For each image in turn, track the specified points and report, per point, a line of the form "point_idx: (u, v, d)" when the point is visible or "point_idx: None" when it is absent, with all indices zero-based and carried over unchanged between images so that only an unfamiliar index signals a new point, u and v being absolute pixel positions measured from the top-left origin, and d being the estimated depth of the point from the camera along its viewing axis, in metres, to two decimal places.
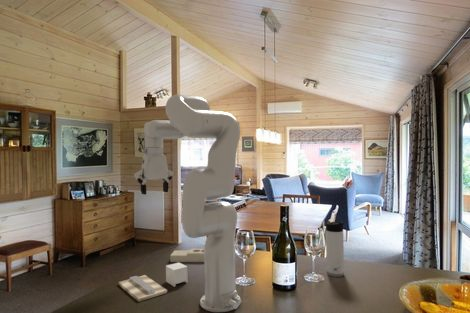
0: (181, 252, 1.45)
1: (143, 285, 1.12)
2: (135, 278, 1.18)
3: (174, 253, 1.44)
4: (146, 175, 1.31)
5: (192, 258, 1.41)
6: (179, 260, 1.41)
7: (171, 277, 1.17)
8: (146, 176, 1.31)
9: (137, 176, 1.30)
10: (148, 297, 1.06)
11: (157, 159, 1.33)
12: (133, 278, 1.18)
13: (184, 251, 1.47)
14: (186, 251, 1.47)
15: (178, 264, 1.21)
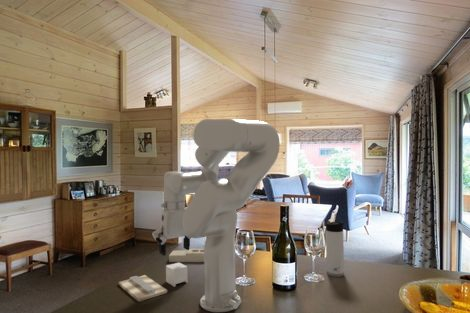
0: (179, 252, 1.45)
1: (143, 285, 1.12)
2: (135, 278, 1.18)
3: (173, 253, 1.44)
4: (166, 234, 1.14)
5: (191, 258, 1.41)
6: (178, 260, 1.41)
7: (171, 277, 1.17)
8: (166, 235, 1.14)
9: (156, 235, 1.14)
10: (148, 297, 1.06)
11: (178, 215, 1.17)
12: (133, 278, 1.18)
13: (183, 251, 1.47)
14: (185, 251, 1.47)
15: (178, 264, 1.21)
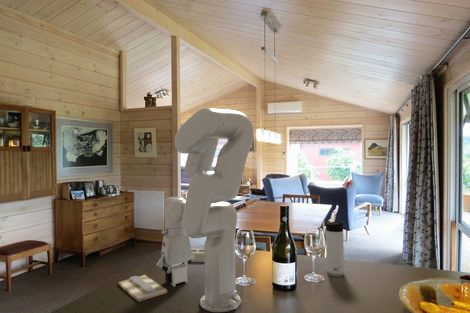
0: None
1: (143, 285, 1.12)
2: (135, 278, 1.18)
3: None
4: (167, 261, 1.14)
5: None
6: None
7: None
8: (167, 262, 1.14)
9: (161, 265, 1.15)
10: (148, 297, 1.06)
11: (179, 241, 1.17)
12: (133, 278, 1.18)
13: None
14: None
15: (178, 264, 1.21)
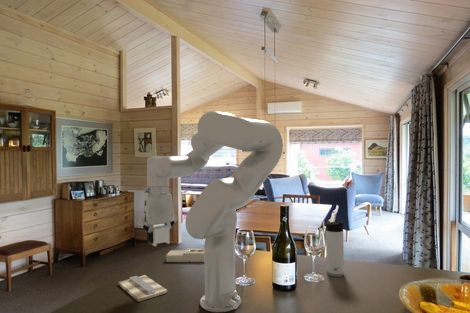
0: (177, 252, 1.45)
1: (143, 285, 1.12)
2: (135, 278, 1.18)
3: (170, 253, 1.44)
4: (148, 220, 1.12)
5: (188, 258, 1.41)
6: (175, 260, 1.41)
7: None
8: (148, 221, 1.12)
9: (142, 224, 1.12)
10: (148, 297, 1.06)
11: (161, 200, 1.14)
12: (133, 278, 1.18)
13: (180, 251, 1.48)
14: (182, 251, 1.47)
15: (161, 225, 1.18)
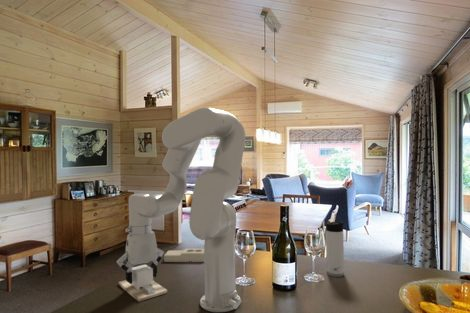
0: (175, 252, 1.45)
1: None
2: None
3: (168, 253, 1.44)
4: (130, 260, 1.09)
5: (186, 258, 1.41)
6: (173, 260, 1.41)
7: (135, 280, 1.12)
8: (130, 262, 1.09)
9: (121, 263, 1.09)
10: (148, 297, 1.06)
11: (144, 239, 1.11)
12: None
13: (178, 251, 1.48)
14: (180, 251, 1.47)
15: (144, 266, 1.16)
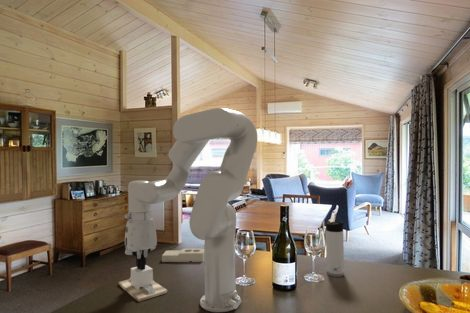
0: (172, 252, 1.45)
1: None
2: None
3: (166, 253, 1.44)
4: (130, 247, 1.09)
5: (184, 258, 1.41)
6: (171, 260, 1.42)
7: (135, 280, 1.12)
8: (130, 248, 1.09)
9: (130, 252, 1.11)
10: (148, 297, 1.06)
11: (143, 226, 1.11)
12: None
13: (176, 251, 1.48)
14: (178, 251, 1.47)
15: None
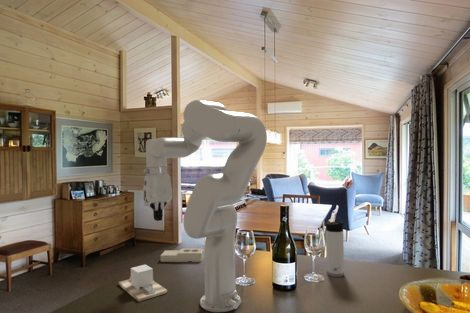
0: (171, 252, 1.45)
1: None
2: None
3: (164, 253, 1.45)
4: (149, 198, 1.18)
5: (183, 258, 1.41)
6: (169, 260, 1.42)
7: (135, 280, 1.12)
8: (149, 199, 1.18)
9: (148, 204, 1.20)
10: (148, 297, 1.06)
11: (160, 180, 1.21)
12: None
13: (175, 251, 1.48)
14: (176, 251, 1.47)
15: (144, 266, 1.16)
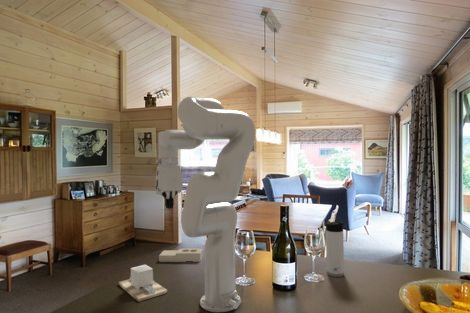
0: (170, 252, 1.46)
1: None
2: None
3: (163, 253, 1.45)
4: (161, 187, 1.26)
5: (181, 258, 1.41)
6: (168, 260, 1.42)
7: (135, 280, 1.12)
8: (161, 188, 1.26)
9: (160, 193, 1.27)
10: (148, 297, 1.06)
11: (171, 170, 1.28)
12: None
13: (173, 251, 1.48)
14: (175, 251, 1.47)
15: (144, 266, 1.16)
